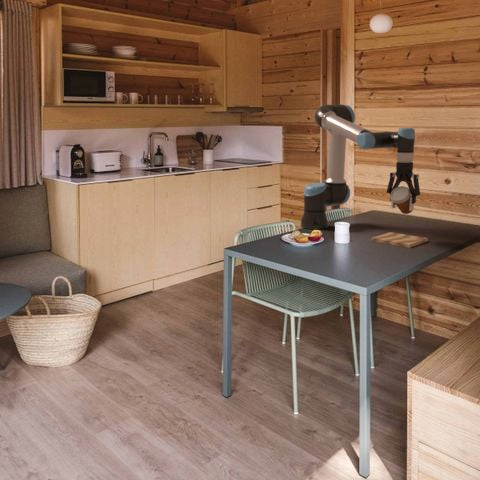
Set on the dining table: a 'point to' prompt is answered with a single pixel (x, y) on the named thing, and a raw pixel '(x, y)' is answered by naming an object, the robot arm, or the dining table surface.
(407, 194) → the disposable coffee cup
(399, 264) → the dining table surface
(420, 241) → the oak board
